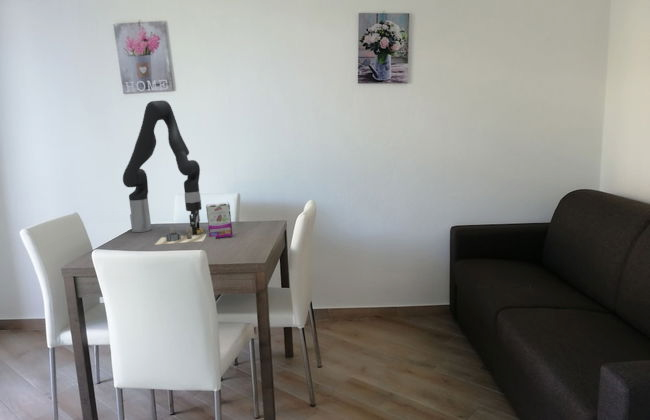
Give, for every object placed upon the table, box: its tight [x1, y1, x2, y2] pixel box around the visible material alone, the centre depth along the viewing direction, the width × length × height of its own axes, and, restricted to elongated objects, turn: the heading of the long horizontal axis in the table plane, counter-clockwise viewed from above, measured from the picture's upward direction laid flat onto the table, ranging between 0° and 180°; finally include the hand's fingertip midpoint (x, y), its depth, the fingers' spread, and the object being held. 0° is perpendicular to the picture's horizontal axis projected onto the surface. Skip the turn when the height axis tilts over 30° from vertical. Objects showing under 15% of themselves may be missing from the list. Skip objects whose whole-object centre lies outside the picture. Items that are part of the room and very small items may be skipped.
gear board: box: [154, 225, 208, 246], centre depth 222 cm, size 22×14×7 cm, turn 96°
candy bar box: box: [205, 202, 233, 239], centre depth 227 cm, size 11×5×16 cm, turn 105°
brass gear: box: [191, 227, 204, 235], centre depth 235 cm, size 6×6×3 cm
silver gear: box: [165, 231, 182, 242], centre depth 222 cm, size 6×6×3 cm
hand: (196, 232), depth 235 cm, fingers open, 8 cm apart
